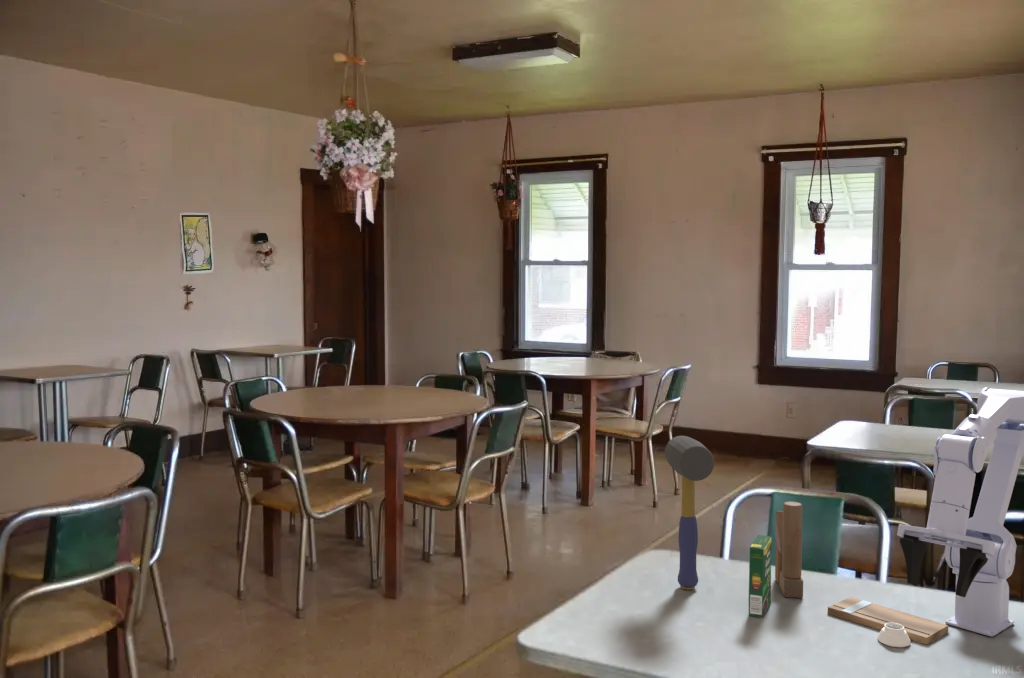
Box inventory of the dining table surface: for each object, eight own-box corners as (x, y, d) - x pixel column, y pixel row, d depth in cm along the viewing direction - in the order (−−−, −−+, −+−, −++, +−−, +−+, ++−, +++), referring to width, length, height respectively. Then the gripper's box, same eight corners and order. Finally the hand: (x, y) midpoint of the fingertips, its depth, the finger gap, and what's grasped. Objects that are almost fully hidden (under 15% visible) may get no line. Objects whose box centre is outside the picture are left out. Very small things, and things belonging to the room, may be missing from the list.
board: (850, 602, 164) (850, 596, 164) (948, 632, 150) (948, 624, 150) (827, 613, 159) (827, 606, 159) (926, 644, 145) (926, 637, 145)
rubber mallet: (661, 578, 178) (662, 433, 176) (697, 577, 179) (698, 432, 177) (677, 600, 166) (678, 445, 164) (716, 598, 166) (717, 444, 164)
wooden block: (793, 579, 177) (794, 492, 176) (803, 598, 166) (804, 506, 165) (774, 579, 177) (775, 492, 176) (783, 598, 167) (784, 505, 165)
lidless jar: (876, 635, 149) (879, 647, 144) (876, 618, 149) (879, 630, 144) (908, 638, 148) (912, 650, 143) (908, 622, 147) (912, 633, 143)
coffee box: (763, 619, 156) (764, 547, 155) (747, 616, 157) (748, 545, 157) (771, 604, 163) (772, 535, 162) (756, 601, 165) (757, 534, 164)
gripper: (895, 494, 145) (880, 575, 142) (987, 509, 133) (973, 597, 131) (913, 503, 149) (899, 582, 146) (1004, 518, 138) (991, 604, 135)
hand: (935, 590), depth 139 cm, fingers open, 7 cm apart
